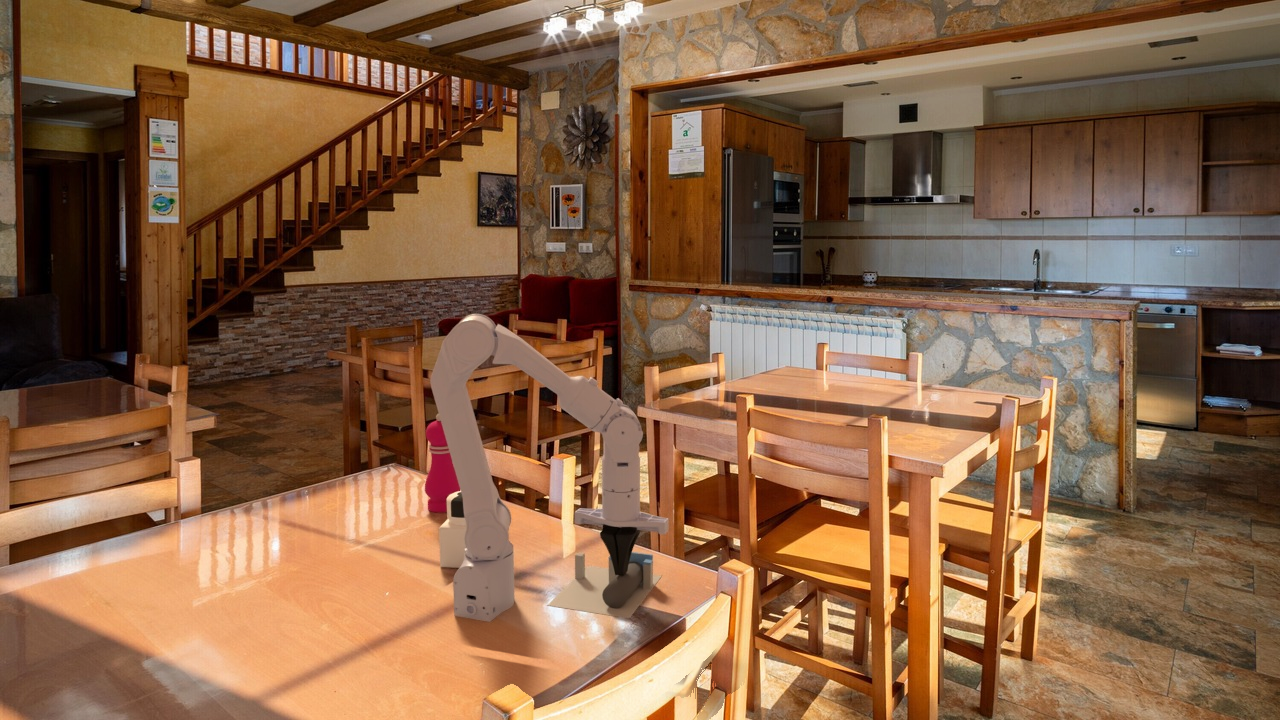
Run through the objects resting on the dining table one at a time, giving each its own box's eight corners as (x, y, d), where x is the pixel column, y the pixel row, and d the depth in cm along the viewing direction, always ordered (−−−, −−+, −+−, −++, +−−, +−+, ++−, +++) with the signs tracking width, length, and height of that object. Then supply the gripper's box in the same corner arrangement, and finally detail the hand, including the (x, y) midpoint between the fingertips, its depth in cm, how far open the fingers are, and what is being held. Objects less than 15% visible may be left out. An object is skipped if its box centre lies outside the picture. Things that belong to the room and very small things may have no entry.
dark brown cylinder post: (622, 611, 122) (626, 589, 121) (600, 604, 123) (604, 582, 122) (643, 586, 131) (647, 565, 130) (622, 579, 132) (626, 558, 131)
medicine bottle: (492, 553, 146) (490, 488, 144) (480, 569, 139) (478, 500, 137) (453, 551, 146) (451, 486, 145) (439, 567, 139) (437, 499, 138)
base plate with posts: (629, 623, 119) (629, 586, 119) (547, 610, 123) (547, 574, 123) (661, 580, 134) (662, 547, 134) (588, 570, 138) (587, 538, 138)
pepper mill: (417, 510, 169) (414, 414, 166) (441, 500, 175) (438, 408, 172) (445, 515, 165) (441, 418, 162) (468, 505, 172) (465, 411, 169)
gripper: (674, 484, 125) (674, 569, 127) (586, 475, 130) (587, 557, 132) (660, 497, 119) (660, 587, 121) (568, 488, 123) (569, 574, 125)
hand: (621, 572), depth 126 cm, fingers closed
